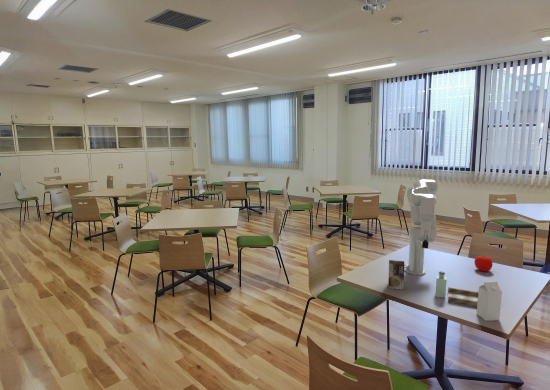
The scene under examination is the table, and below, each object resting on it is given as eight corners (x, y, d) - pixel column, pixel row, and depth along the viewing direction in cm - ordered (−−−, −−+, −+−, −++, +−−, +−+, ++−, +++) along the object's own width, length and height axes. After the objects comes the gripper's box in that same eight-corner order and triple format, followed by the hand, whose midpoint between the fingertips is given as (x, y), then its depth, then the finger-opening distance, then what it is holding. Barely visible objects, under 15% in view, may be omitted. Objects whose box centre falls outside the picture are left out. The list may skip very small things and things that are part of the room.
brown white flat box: (448, 301, 187) (448, 295, 186) (447, 291, 200) (448, 285, 199) (490, 309, 178) (491, 302, 177) (487, 298, 191) (488, 291, 190)
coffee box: (403, 285, 209) (404, 261, 206) (403, 290, 203) (404, 264, 200) (388, 283, 212) (389, 259, 209) (387, 288, 206) (389, 263, 203)
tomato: (494, 271, 231) (496, 256, 230) (487, 274, 226) (489, 259, 224) (478, 266, 240) (479, 252, 238) (471, 269, 234) (472, 255, 233)
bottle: (435, 296, 194) (436, 273, 192) (435, 292, 199) (437, 270, 197) (445, 298, 192) (446, 274, 190) (445, 294, 196) (446, 271, 194)
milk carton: (476, 314, 174) (479, 279, 171) (489, 313, 174) (492, 278, 171) (486, 321, 167) (489, 285, 164) (499, 320, 167) (502, 284, 164)
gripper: (420, 214, 201) (418, 243, 204) (419, 219, 188) (417, 250, 191) (434, 215, 198) (432, 245, 201) (433, 220, 185) (431, 252, 187)
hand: (425, 247), depth 196 cm, fingers closed
